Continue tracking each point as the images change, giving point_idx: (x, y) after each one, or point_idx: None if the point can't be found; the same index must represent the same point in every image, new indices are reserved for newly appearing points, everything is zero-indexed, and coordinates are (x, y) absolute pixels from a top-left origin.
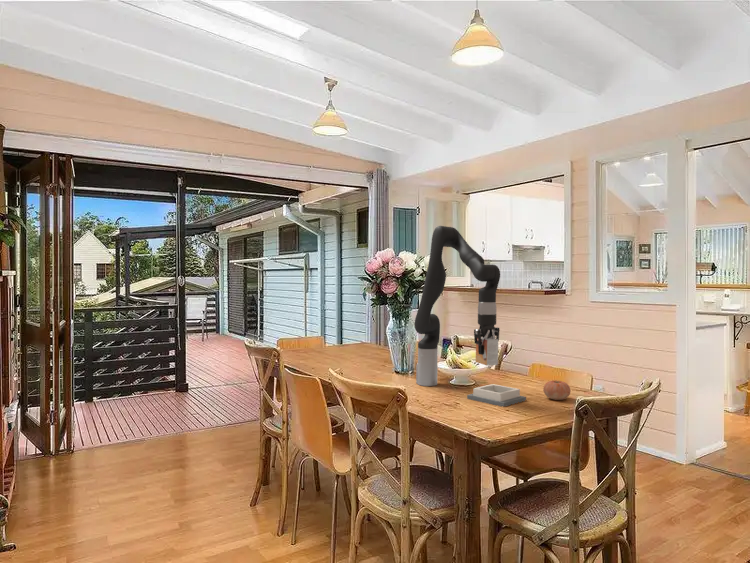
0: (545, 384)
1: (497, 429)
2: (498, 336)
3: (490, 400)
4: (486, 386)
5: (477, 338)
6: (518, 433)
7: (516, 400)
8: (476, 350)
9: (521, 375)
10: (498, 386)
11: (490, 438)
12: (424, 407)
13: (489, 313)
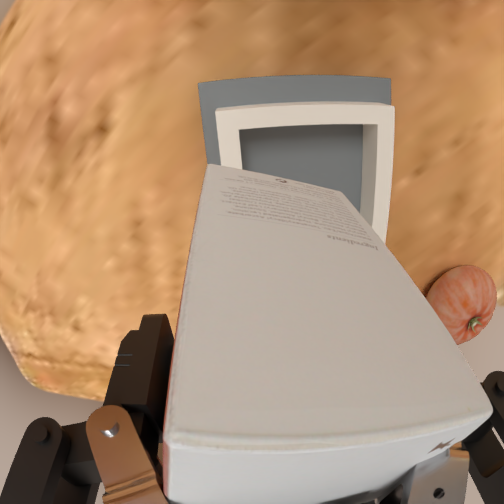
0: (458, 299)
1: (67, 372)
2: (491, 468)
3: None
4: (317, 122)
5: (163, 454)
6: (94, 399)
7: None
8: (191, 239)
9: None
10: (375, 154)
11: (35, 384)
12: None
13: None
